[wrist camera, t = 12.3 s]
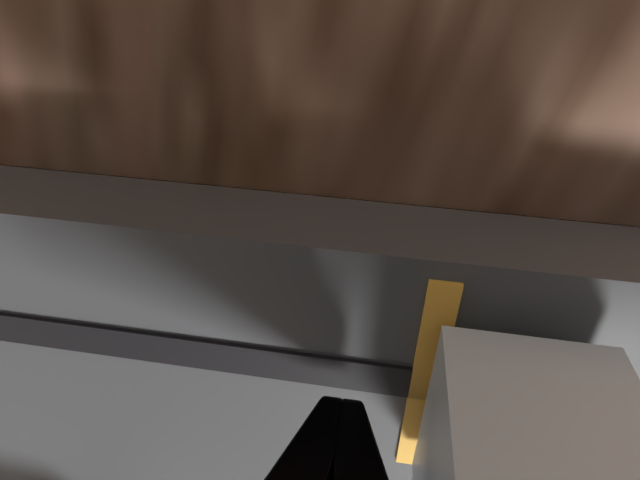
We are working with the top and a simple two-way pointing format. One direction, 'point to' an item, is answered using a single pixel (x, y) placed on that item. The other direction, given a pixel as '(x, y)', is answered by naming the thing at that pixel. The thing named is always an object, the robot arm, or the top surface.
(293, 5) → the top surface
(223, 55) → the top surface
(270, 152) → the top surface
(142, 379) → the console
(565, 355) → the white fader
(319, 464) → the robot arm
